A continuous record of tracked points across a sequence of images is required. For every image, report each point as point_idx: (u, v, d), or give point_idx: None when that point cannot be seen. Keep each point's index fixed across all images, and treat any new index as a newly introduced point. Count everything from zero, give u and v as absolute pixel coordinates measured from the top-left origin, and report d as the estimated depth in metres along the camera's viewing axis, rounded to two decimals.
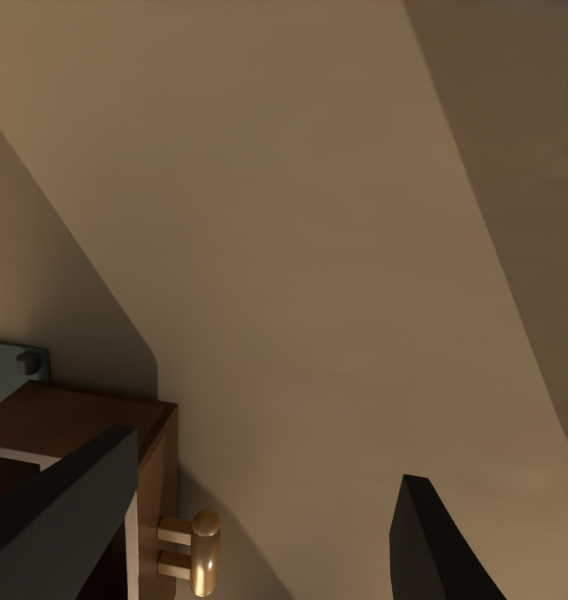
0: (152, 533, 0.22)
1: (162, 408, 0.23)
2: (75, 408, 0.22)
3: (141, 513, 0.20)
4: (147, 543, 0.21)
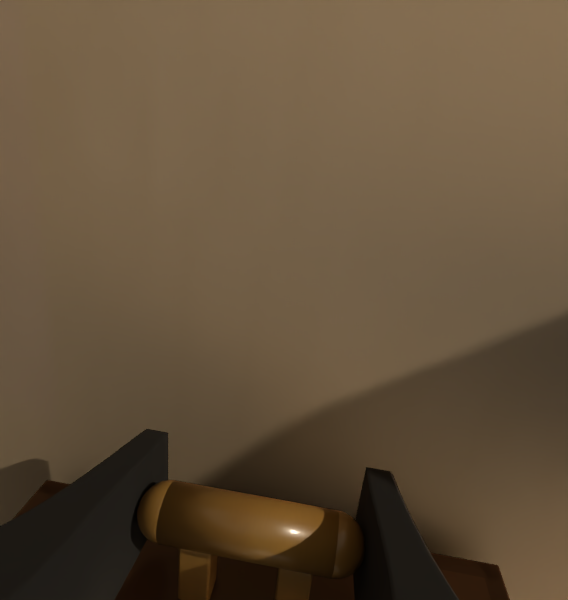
0: None
1: None
2: None
3: None
4: None
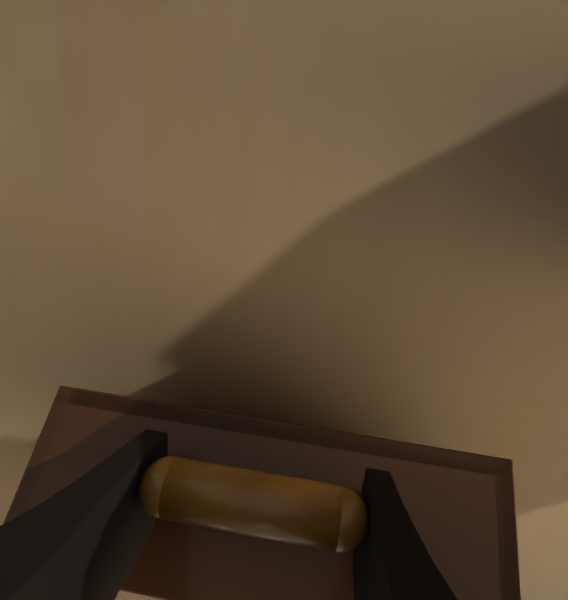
0: (187, 535, 0.12)
1: None
2: None
3: None
4: (180, 559, 0.12)
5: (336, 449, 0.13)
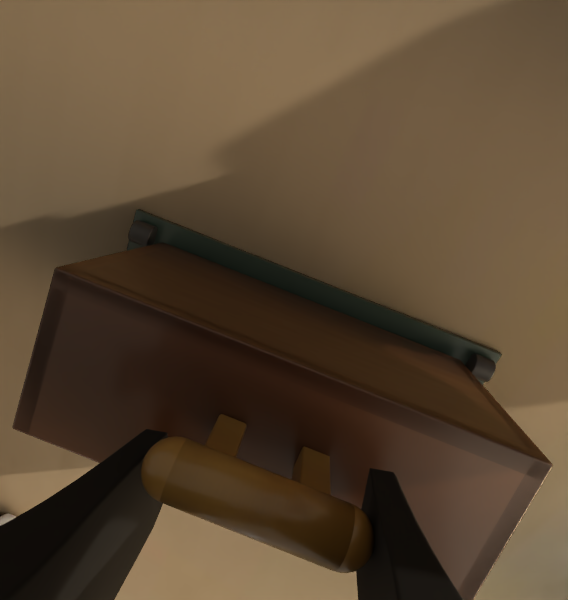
0: None
1: None
2: None
3: (104, 451, 0.13)
4: None
5: (364, 411, 0.12)
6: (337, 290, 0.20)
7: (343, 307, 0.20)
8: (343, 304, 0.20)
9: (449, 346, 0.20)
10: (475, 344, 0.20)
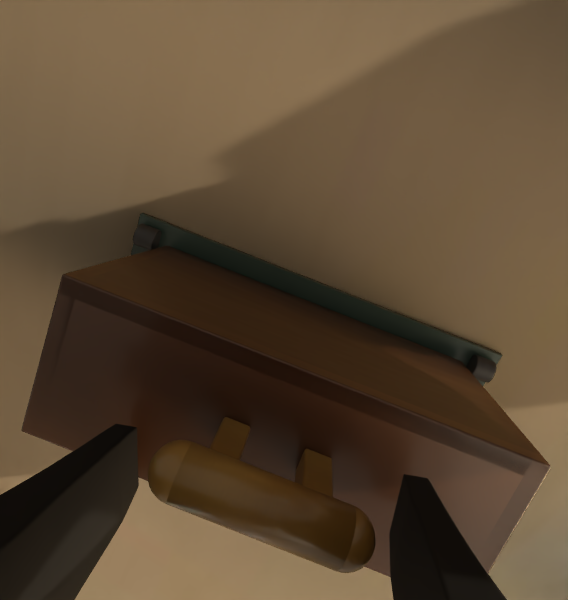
0: None
1: None
2: None
3: None
4: None
5: (366, 414, 0.12)
6: (339, 292, 0.20)
7: (345, 309, 0.20)
8: (345, 306, 0.20)
9: (450, 347, 0.20)
10: (476, 345, 0.20)
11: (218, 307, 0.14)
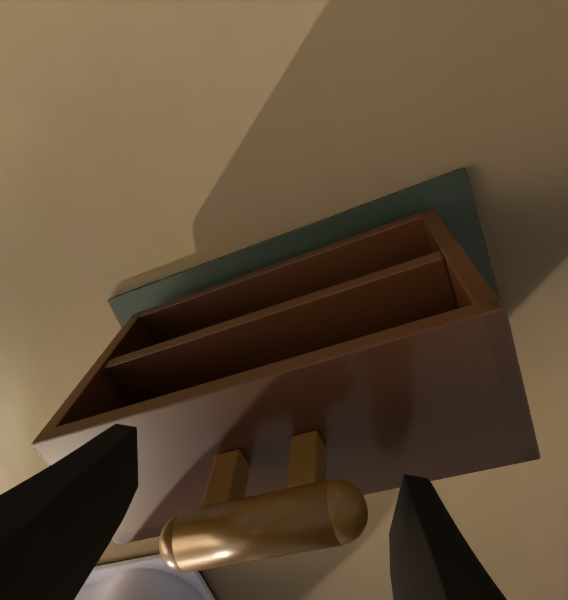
0: (318, 411, 0.12)
1: None
2: None
3: (394, 355, 0.11)
4: (310, 395, 0.12)
5: None
6: None
7: None
8: None
9: None
10: None
11: None
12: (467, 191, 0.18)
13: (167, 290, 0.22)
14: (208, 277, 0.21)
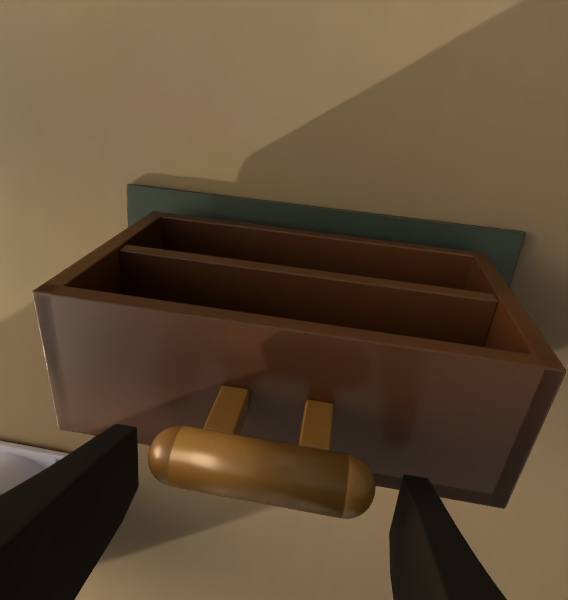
0: (346, 387, 0.12)
1: None
2: None
3: (448, 368, 0.11)
4: (349, 369, 0.12)
5: None
6: None
7: None
8: None
9: None
10: None
11: None
12: (516, 254, 0.19)
13: (194, 205, 0.20)
14: (243, 213, 0.20)
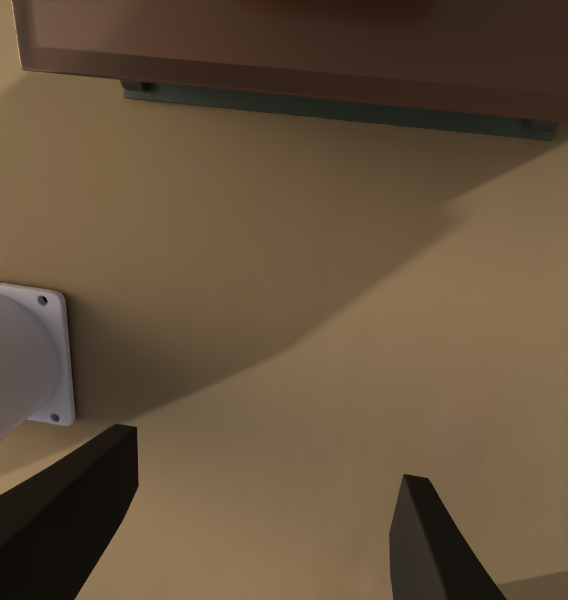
0: None
1: None
2: None
3: None
4: None
5: (226, 62, 0.10)
6: (306, 114, 0.18)
7: None
8: (294, 100, 0.18)
9: (174, 88, 0.19)
10: (152, 100, 0.19)
11: None
12: None
13: None
14: None
